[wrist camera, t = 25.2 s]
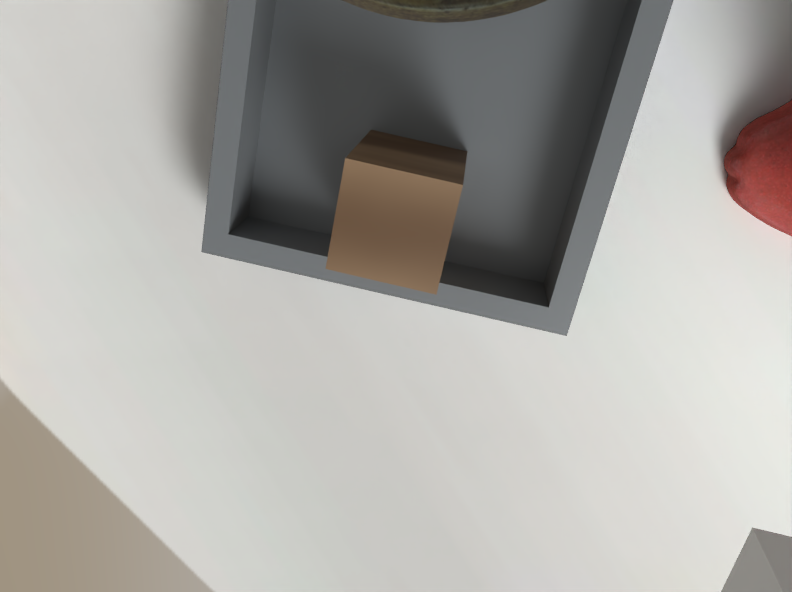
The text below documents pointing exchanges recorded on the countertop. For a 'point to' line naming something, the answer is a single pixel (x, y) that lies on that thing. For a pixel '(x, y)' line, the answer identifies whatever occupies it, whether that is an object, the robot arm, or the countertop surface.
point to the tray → (433, 137)
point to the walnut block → (396, 210)
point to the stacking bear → (764, 169)
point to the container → (444, 9)
